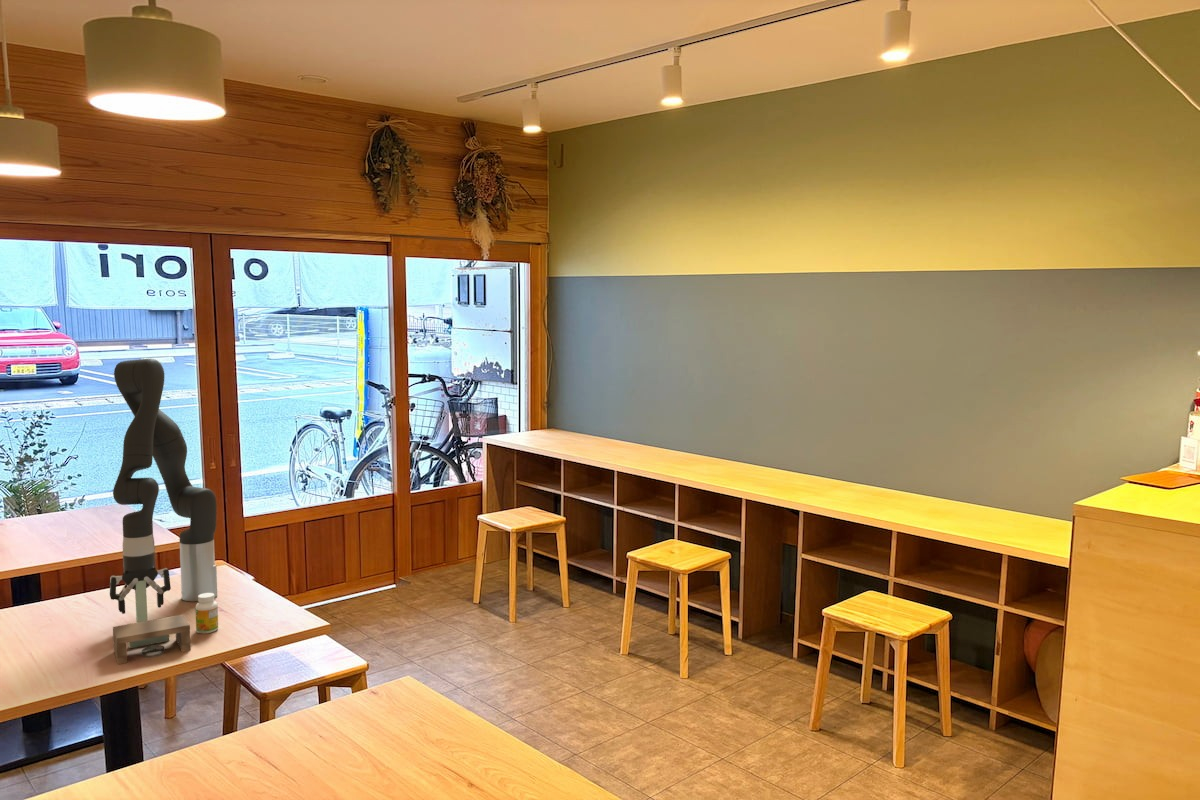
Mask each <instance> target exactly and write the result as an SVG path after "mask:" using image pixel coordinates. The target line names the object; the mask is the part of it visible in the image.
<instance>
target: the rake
mask: <svg viewBox="0 0 1200 800" xmlns="http://www.w3.org/2000/svg"><path fill="white" fill-rule="evenodd" d="M134 593H135V594H134V595H135V598H134V599H135V618H136V622H135V623H138V622H143V621H149V620H148V603H147V601H148V600H147V588H146V581H145V580H143V581H138V582H137V583H136V590H134ZM165 642H170V635H165V636H159V637H154V638H149V639H143V640H138V641H133V642H128V645H129V647H128V648H129V649H133V648H140V647H144V646H148V645H149V646H151V645H154V644H160V643H165Z"/></svg>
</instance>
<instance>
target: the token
mask: <svg viewBox="0 0 1200 800" xmlns="http://www.w3.org/2000/svg"><path fill="white" fill-rule="evenodd" d="M165 650H166V649H165V646H164V645H161V644H156V645H154V644H151V645H149V646H148V645H147V646H146V647H144V648H143V649H141V657H144V658H155V657H158V656H161V655H163V654H164V653H165V652H166V651H165Z"/></svg>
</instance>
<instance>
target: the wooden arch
mask: <svg viewBox="0 0 1200 800" xmlns="http://www.w3.org/2000/svg"><path fill="white" fill-rule="evenodd" d="M190 627H191V626H190V623H189V621H188V619H187V617H186V616H185V614H179V615H178V614H177V615H172V616H168V617H167V616H166V617H161V618H156V619H149V620H148V621H143V622H138V623H137V622H133V623H128V624H127V623H126V624H123V625H117V626H116V625H115V626H112V637H113V639H112V640H113V641H112V642H113V653H114V657H115V660H116V663H117V665H121V664H126V663H128V649H127V648H128V647H127V643H129V642H133V641H138V640H143V639H149V638H154V637H159V636H165V635H169V636H170V635H174V634H175V641H176V643H177V645H178V646H179V649H180V651H181V653H182V652H183V653H184V652H187V651H191V649H192V648H191V645H192V644H191V628H190Z"/></svg>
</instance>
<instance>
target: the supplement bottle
mask: <svg viewBox="0 0 1200 800" xmlns="http://www.w3.org/2000/svg"><path fill="white" fill-rule="evenodd" d="M215 598H216V597H214V593H203V594H200V595H198V601H197V603H196V604H195V629H196V630H195V631H196V633H198V634H210V633H214V632H216V631H217V630H218V629H219V611H218V610H219V607H218V602H217V601H216V600H215Z"/></svg>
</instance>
